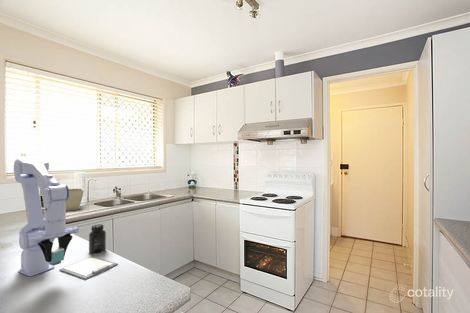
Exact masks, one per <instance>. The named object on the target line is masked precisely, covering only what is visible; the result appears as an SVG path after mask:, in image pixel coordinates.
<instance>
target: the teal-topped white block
mask: <svg viewBox="0 0 470 313" xmlns="http://www.w3.org/2000/svg"><path fill="white" fill-rule="evenodd" d="M64 260H65V256H64V248H61V247H59V246H56V247H52V252H51V262H48V263H49V265H52V266H56V265H60V264H62V261H64Z"/></svg>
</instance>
